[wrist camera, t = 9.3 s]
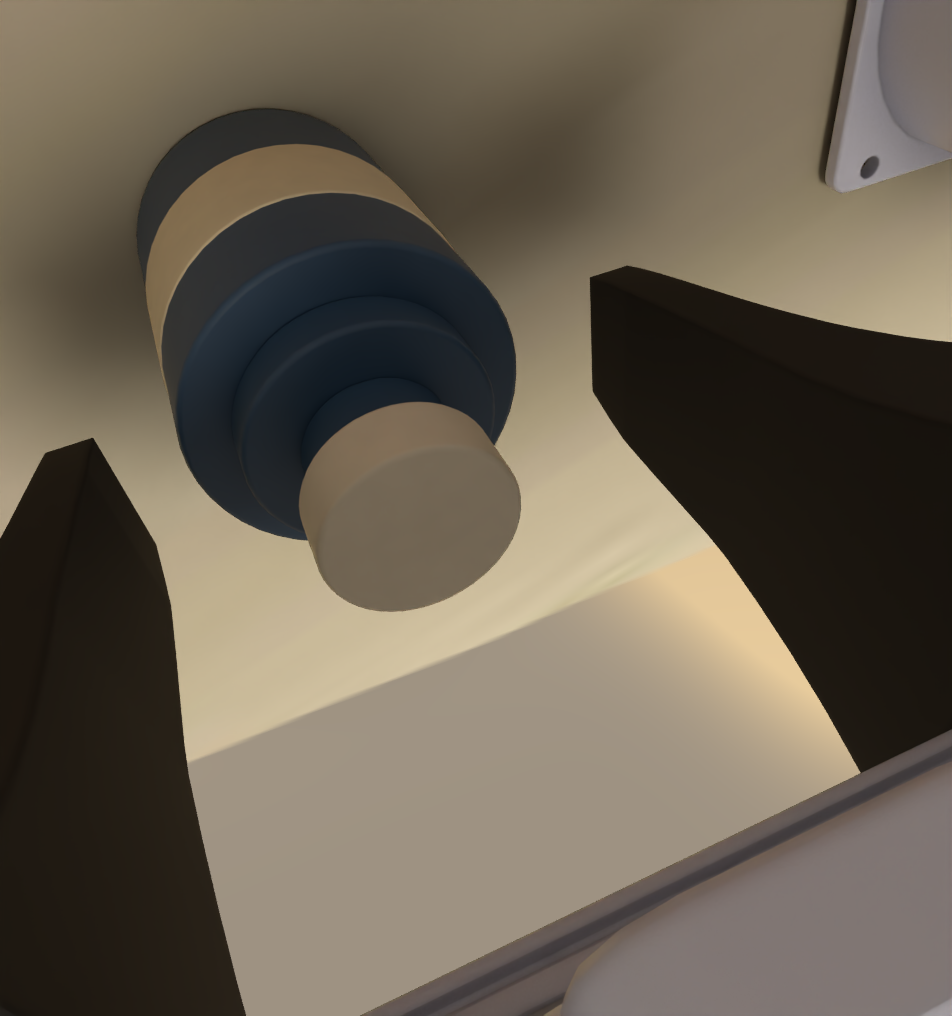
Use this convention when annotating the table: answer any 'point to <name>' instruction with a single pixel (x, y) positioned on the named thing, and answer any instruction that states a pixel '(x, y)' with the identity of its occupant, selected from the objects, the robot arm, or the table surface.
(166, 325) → the bottle
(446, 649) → the table surface
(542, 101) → the table surface
